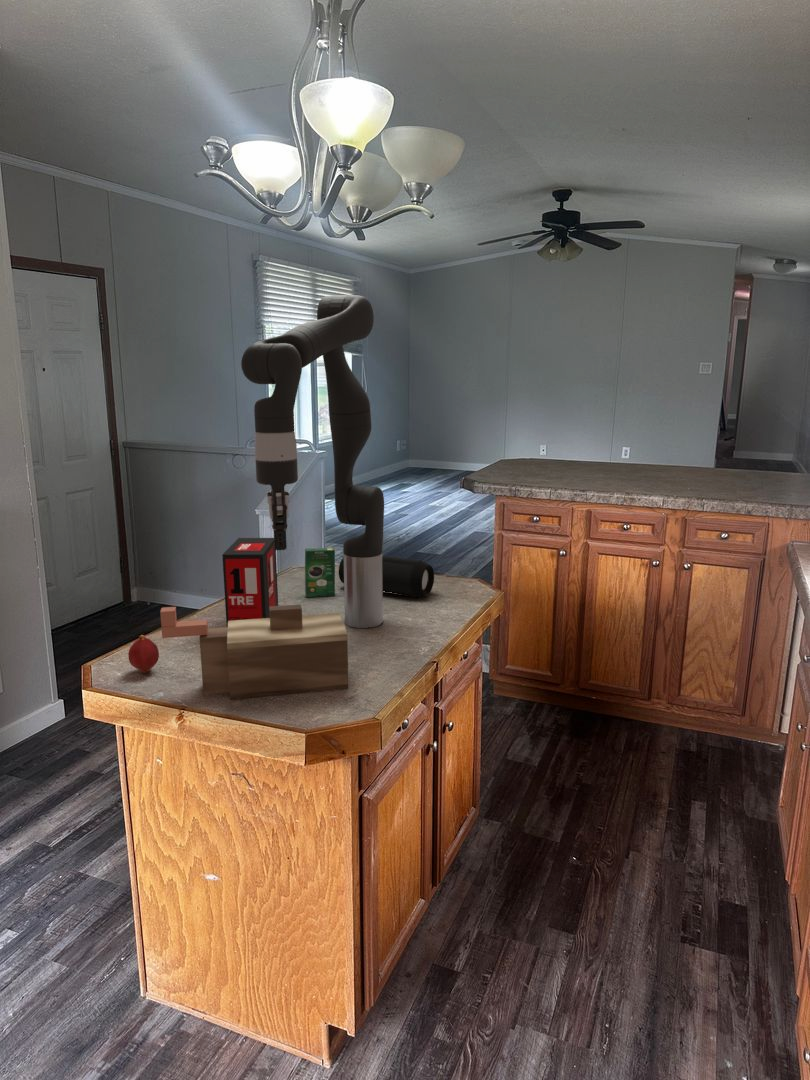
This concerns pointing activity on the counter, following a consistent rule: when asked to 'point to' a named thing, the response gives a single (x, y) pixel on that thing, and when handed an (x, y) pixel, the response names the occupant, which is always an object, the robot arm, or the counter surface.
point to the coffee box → (320, 572)
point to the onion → (143, 654)
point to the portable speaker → (403, 576)
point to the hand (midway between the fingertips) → (280, 548)
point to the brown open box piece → (271, 667)
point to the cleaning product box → (250, 578)
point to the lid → (285, 629)
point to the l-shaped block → (180, 625)
